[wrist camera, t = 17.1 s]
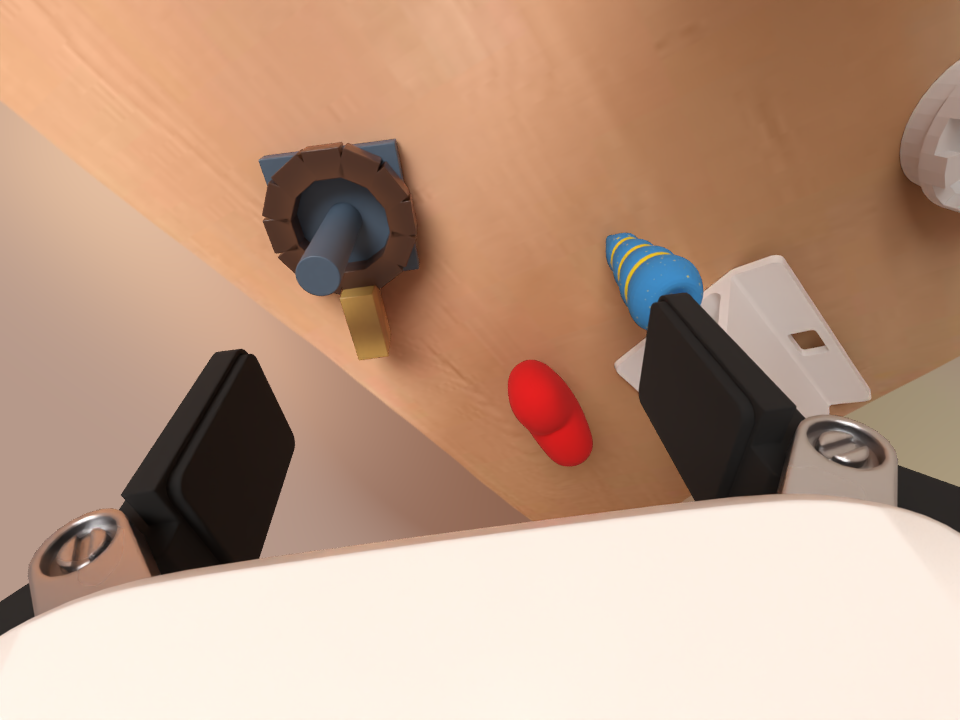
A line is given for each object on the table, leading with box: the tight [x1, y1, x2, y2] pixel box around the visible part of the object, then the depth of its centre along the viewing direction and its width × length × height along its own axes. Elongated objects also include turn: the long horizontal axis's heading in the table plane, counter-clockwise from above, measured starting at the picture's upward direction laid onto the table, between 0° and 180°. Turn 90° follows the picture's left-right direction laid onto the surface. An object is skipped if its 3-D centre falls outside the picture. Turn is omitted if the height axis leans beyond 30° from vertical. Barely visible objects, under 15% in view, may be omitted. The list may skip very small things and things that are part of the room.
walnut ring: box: [262, 142, 417, 360], centre depth 36 cm, size 16×11×4 cm, turn 6°
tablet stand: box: [614, 255, 871, 418], centre depth 44 cm, size 18×25×17 cm
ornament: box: [606, 233, 703, 330], centre depth 35 cm, size 5×5×15 cm
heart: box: [508, 360, 593, 466], centre depth 45 cm, size 12×5×10 cm, turn 33°
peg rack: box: [259, 139, 419, 296], centre depth 32 cm, size 10×10×12 cm
